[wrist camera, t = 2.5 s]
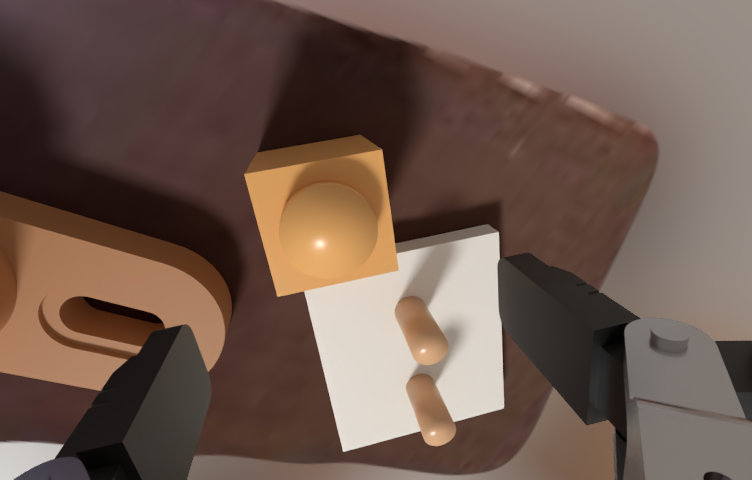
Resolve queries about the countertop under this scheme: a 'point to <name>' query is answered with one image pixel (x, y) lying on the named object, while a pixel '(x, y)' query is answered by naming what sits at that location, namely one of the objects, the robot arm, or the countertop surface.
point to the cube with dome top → (323, 213)
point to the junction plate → (384, 346)
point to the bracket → (95, 294)
